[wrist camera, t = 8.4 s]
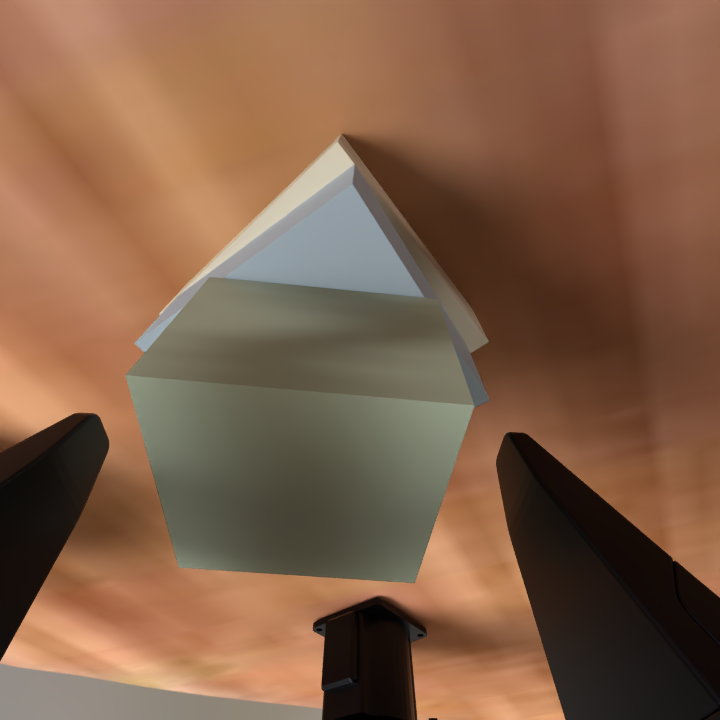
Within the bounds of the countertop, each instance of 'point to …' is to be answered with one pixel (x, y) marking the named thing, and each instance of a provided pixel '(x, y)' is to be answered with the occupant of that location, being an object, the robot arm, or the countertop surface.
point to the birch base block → (344, 157)
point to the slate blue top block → (331, 259)
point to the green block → (302, 428)
